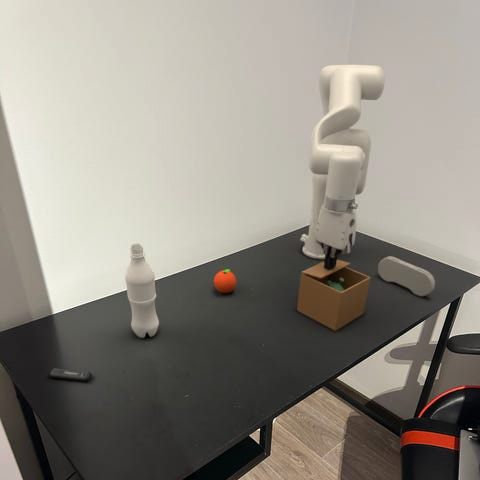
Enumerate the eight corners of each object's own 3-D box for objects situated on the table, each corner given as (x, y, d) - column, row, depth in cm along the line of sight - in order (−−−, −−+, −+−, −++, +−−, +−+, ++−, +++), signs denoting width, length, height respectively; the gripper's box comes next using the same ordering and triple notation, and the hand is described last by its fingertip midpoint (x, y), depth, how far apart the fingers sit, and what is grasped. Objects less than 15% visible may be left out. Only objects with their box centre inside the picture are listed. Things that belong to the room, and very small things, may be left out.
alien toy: (326, 318, 128) (331, 288, 122) (314, 305, 134) (318, 275, 128) (348, 315, 129) (353, 284, 124) (335, 301, 136) (340, 272, 130)
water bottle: (164, 328, 122) (157, 242, 109) (151, 342, 117) (142, 254, 103) (140, 322, 124) (130, 238, 110) (127, 337, 119) (114, 249, 105)
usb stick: (49, 378, 104) (47, 373, 103) (54, 371, 106) (53, 366, 106) (88, 383, 103) (87, 378, 102) (92, 375, 105) (91, 370, 105)
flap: (301, 272, 125) (301, 271, 125) (331, 259, 133) (331, 258, 132) (321, 278, 120) (321, 277, 120) (350, 264, 128) (350, 263, 128)
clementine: (221, 282, 144) (221, 262, 141) (241, 287, 142) (241, 267, 138) (209, 294, 138) (209, 273, 134) (230, 299, 136) (230, 278, 132)
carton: (296, 310, 132) (300, 274, 125) (325, 295, 139) (330, 260, 133) (335, 331, 123) (341, 293, 117) (363, 313, 131) (370, 277, 125)
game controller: (431, 298, 140) (439, 274, 135) (427, 300, 138) (434, 276, 134) (379, 274, 152) (384, 252, 147) (375, 276, 151) (380, 253, 146)
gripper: (372, 208, 113) (359, 273, 123) (325, 193, 122) (316, 255, 132) (354, 214, 109) (343, 281, 119) (307, 198, 118) (300, 262, 128)
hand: (329, 267), depth 125 cm, fingers closed
